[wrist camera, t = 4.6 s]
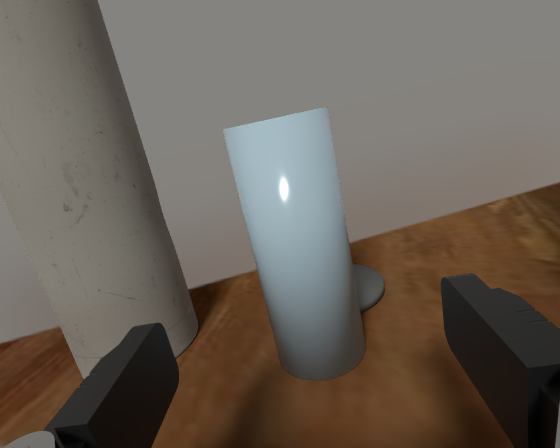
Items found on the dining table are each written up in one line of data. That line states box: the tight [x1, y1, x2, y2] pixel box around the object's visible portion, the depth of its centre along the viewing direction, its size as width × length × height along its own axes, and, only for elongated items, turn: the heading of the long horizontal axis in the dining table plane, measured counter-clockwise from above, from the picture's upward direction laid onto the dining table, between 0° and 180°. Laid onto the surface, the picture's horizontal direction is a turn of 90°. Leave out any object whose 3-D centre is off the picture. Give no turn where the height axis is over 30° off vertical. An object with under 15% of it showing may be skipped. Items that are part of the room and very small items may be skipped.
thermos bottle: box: [0, 0, 198, 379], centre depth 21 cm, size 8×8×28 cm
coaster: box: [353, 264, 385, 313], centre depth 26 cm, size 7×7×1 cm
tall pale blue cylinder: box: [223, 107, 366, 380], centre depth 18 cm, size 5×5×13 cm
